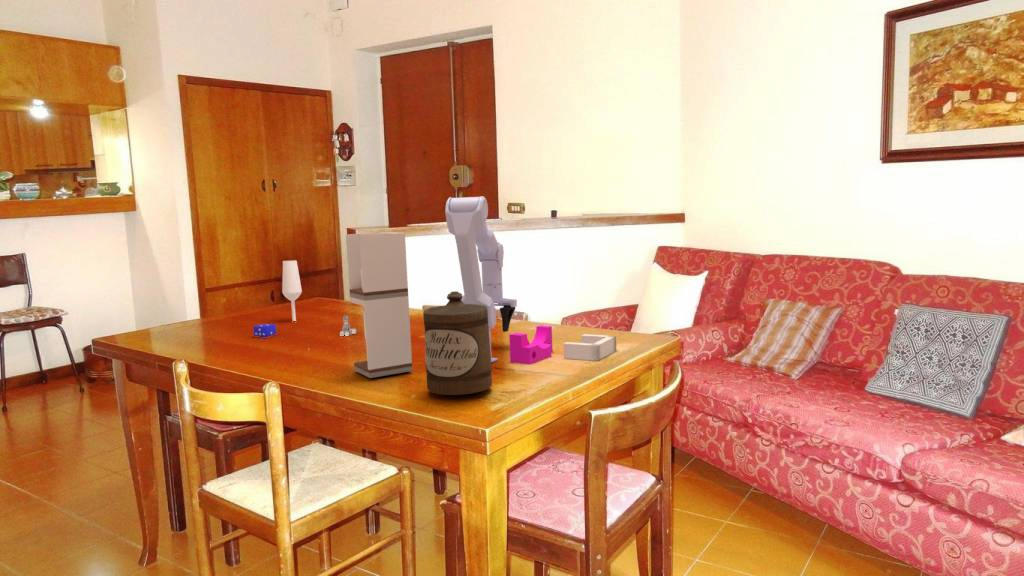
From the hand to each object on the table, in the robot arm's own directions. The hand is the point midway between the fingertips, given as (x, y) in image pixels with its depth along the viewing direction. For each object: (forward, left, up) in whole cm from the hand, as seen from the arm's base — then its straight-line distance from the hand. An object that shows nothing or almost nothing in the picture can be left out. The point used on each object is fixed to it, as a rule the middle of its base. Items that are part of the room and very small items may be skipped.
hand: (494, 330), depth 204 cm
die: (-14, +78, -5) cm, 80 cm away
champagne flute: (+8, +87, -5) cm, 88 cm away
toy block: (-8, -17, -5) cm, 20 cm away
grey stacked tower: (-35, +13, -5) cm, 38 cm away
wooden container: (-42, -15, -5) cm, 45 cm away
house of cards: (-2, +52, -6) cm, 52 cm away
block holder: (0, -30, -5) cm, 30 cm away
